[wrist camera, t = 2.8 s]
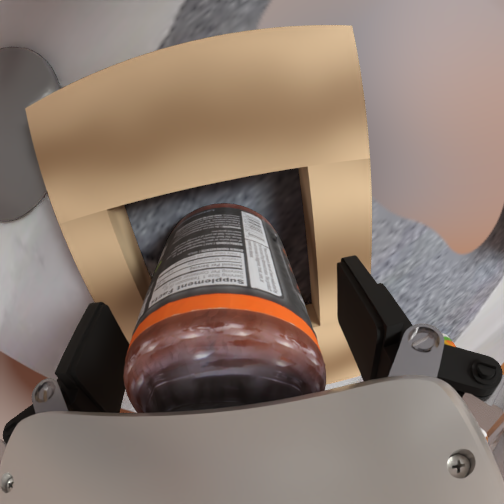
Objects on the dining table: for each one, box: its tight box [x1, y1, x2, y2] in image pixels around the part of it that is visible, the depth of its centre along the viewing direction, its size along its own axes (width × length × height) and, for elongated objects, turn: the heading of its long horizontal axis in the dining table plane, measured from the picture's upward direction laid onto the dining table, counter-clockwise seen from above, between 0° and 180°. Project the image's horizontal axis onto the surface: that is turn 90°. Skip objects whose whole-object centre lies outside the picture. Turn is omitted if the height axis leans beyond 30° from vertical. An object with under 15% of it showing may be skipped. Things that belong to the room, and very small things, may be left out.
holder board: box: [25, 25, 372, 384], centre depth 14 cm, size 20×14×2 cm
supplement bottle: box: [123, 203, 326, 413], centre depth 10 cm, size 6×6×11 cm
